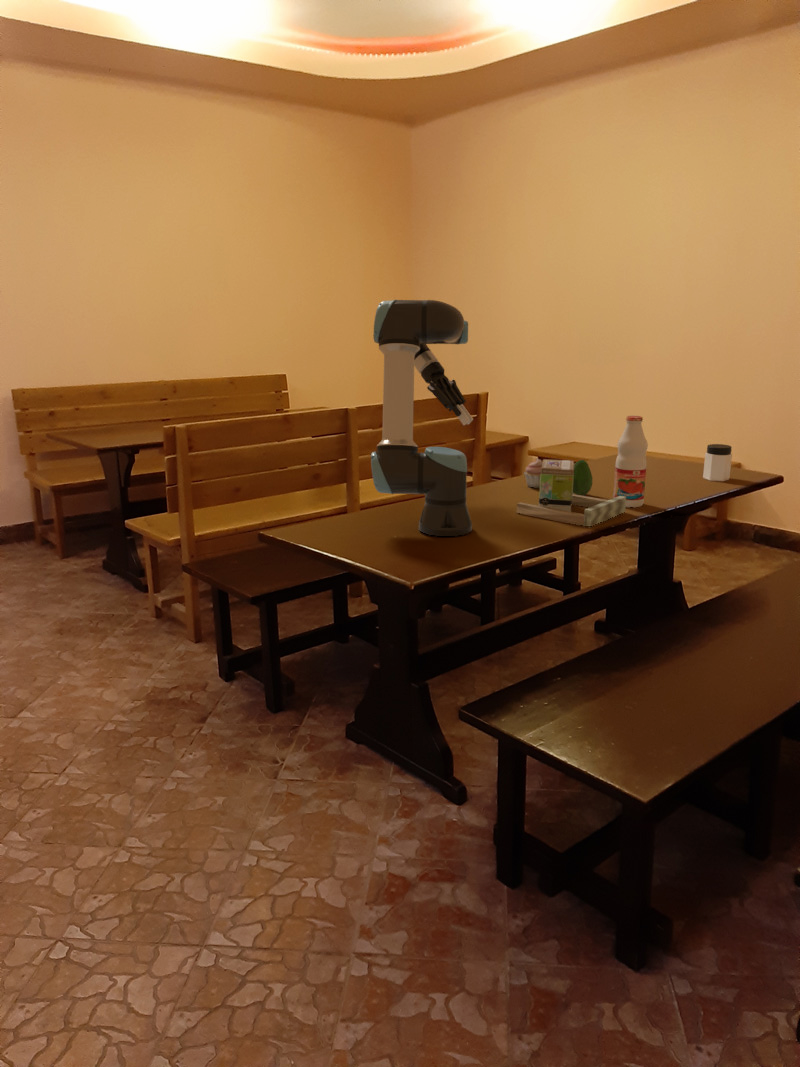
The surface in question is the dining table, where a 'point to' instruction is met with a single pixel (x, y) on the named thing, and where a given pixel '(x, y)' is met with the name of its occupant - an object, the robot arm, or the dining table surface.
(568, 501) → the tea box
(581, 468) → the avocado
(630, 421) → the fruit juice
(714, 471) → the jar
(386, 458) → the robot arm
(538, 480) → the cupcake
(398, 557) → the dining table surface
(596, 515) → the chute
